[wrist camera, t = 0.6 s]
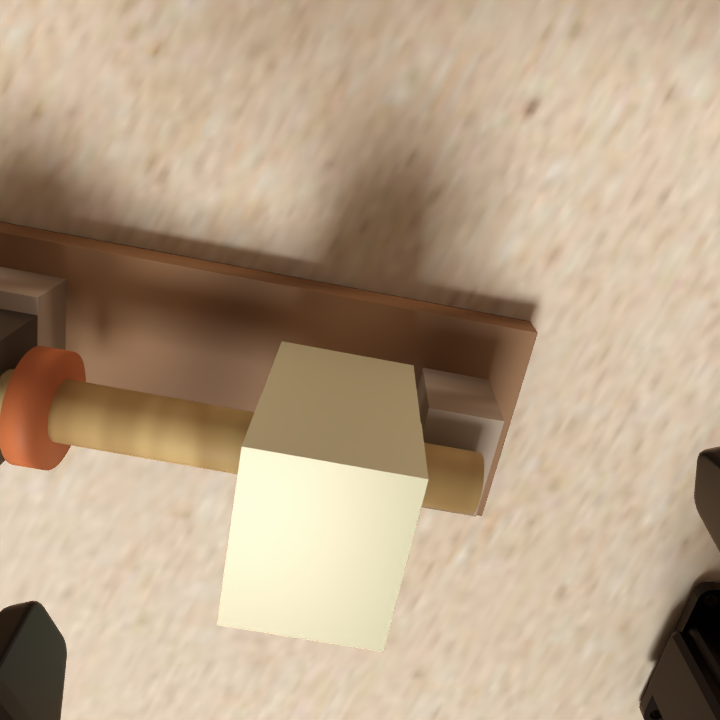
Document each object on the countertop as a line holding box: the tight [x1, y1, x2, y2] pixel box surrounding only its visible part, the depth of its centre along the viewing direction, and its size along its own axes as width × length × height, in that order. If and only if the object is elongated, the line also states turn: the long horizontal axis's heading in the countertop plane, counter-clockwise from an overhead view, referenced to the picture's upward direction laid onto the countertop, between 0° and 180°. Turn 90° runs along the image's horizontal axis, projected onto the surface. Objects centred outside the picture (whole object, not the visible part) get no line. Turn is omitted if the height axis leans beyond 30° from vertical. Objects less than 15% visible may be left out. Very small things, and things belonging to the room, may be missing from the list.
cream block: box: [217, 341, 429, 652], centre depth 16 cm, size 4×4×6 cm
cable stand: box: [0, 222, 537, 516], centre depth 19 cm, size 17×6×6 cm, turn 79°
